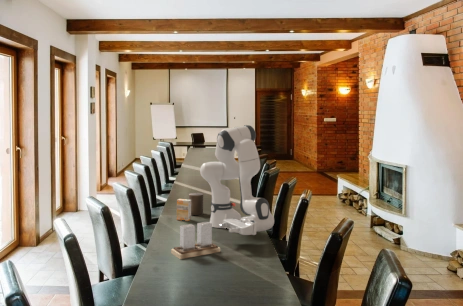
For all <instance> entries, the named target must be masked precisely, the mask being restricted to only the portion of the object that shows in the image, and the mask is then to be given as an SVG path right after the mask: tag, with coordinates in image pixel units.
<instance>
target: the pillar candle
mask: <svg viewBox="0 0 463 306" xmlns="http://www.w3.org/2000/svg"><path fill="white" fill-rule="evenodd" d="M188 200H191V216H193V215H199V216H203V215H204V193H201V192H192V193H189V194H188ZM202 214H203V215H202Z"/></svg>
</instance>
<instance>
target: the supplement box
mask: <svg viewBox="0 0 463 306" xmlns="http://www.w3.org/2000/svg"><path fill="white" fill-rule="evenodd" d="M190 219H192V215H191V200H189V199H186V198H185V199H184V198H178V199H176V221H182V220H185V222H189V221H191V220H190Z"/></svg>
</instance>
